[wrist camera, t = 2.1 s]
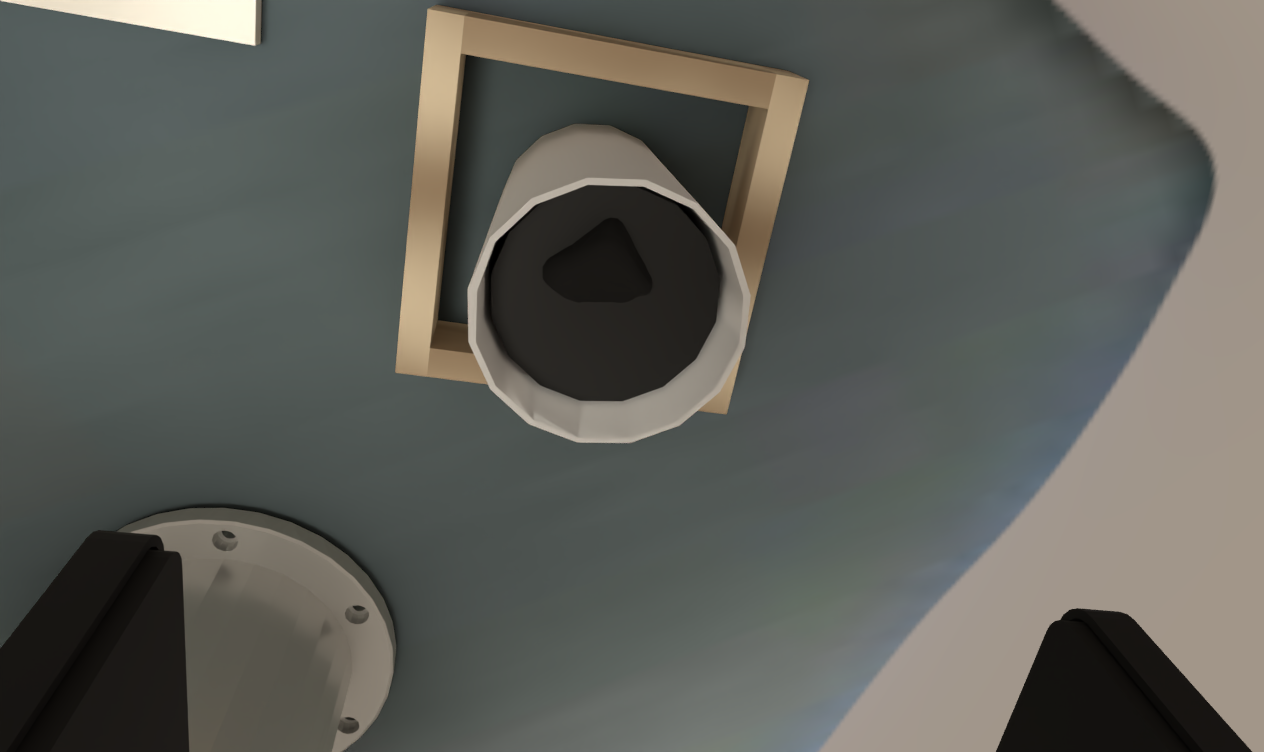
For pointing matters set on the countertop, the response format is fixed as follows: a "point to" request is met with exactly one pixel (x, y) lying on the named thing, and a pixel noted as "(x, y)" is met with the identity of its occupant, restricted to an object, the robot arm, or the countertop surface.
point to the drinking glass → (604, 292)
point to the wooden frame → (471, 33)
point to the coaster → (172, 15)
